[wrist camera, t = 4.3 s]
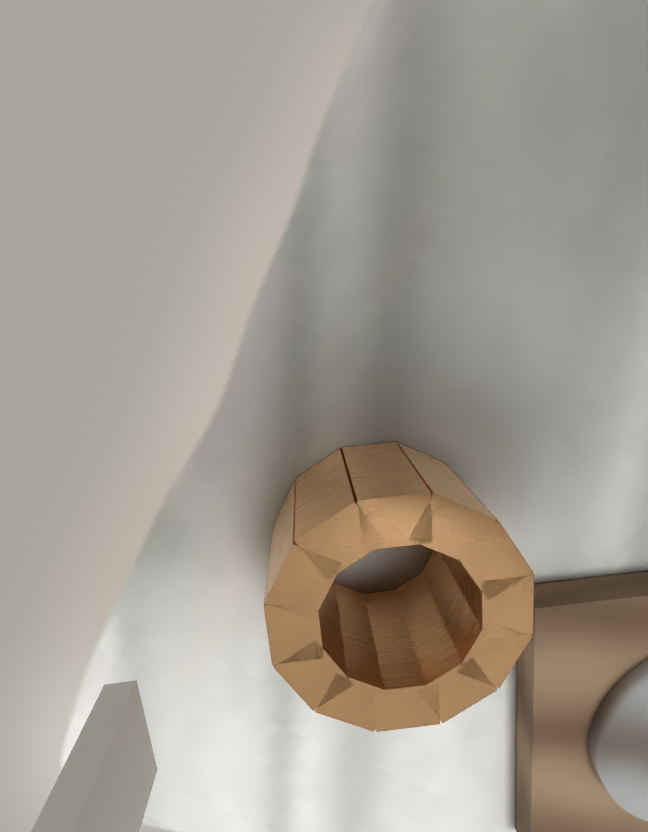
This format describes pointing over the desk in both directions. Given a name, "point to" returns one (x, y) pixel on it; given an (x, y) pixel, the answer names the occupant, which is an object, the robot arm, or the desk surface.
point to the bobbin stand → (584, 708)
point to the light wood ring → (393, 592)
